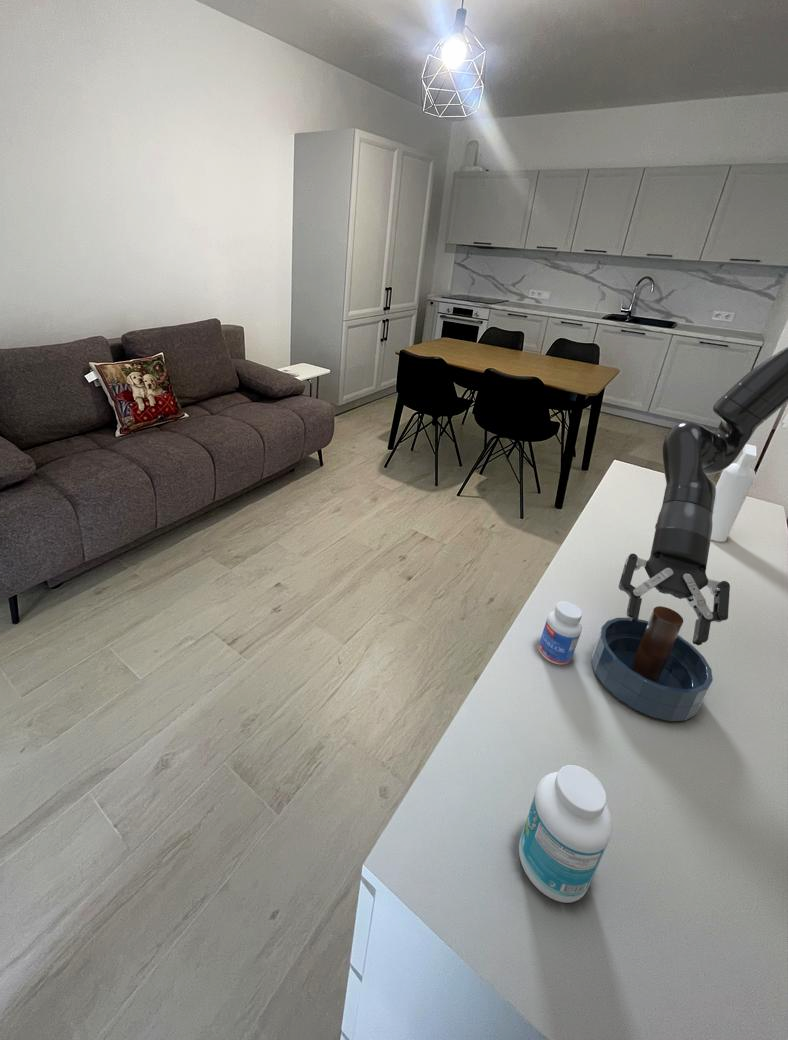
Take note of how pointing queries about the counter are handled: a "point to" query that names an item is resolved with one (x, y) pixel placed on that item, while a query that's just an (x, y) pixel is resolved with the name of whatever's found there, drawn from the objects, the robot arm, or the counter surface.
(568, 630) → the pill bottle
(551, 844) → the pill bottle
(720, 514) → the white spray bottle
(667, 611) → the brown wooden dowel
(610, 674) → the bowl
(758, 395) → the robot arm
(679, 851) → the counter surface
